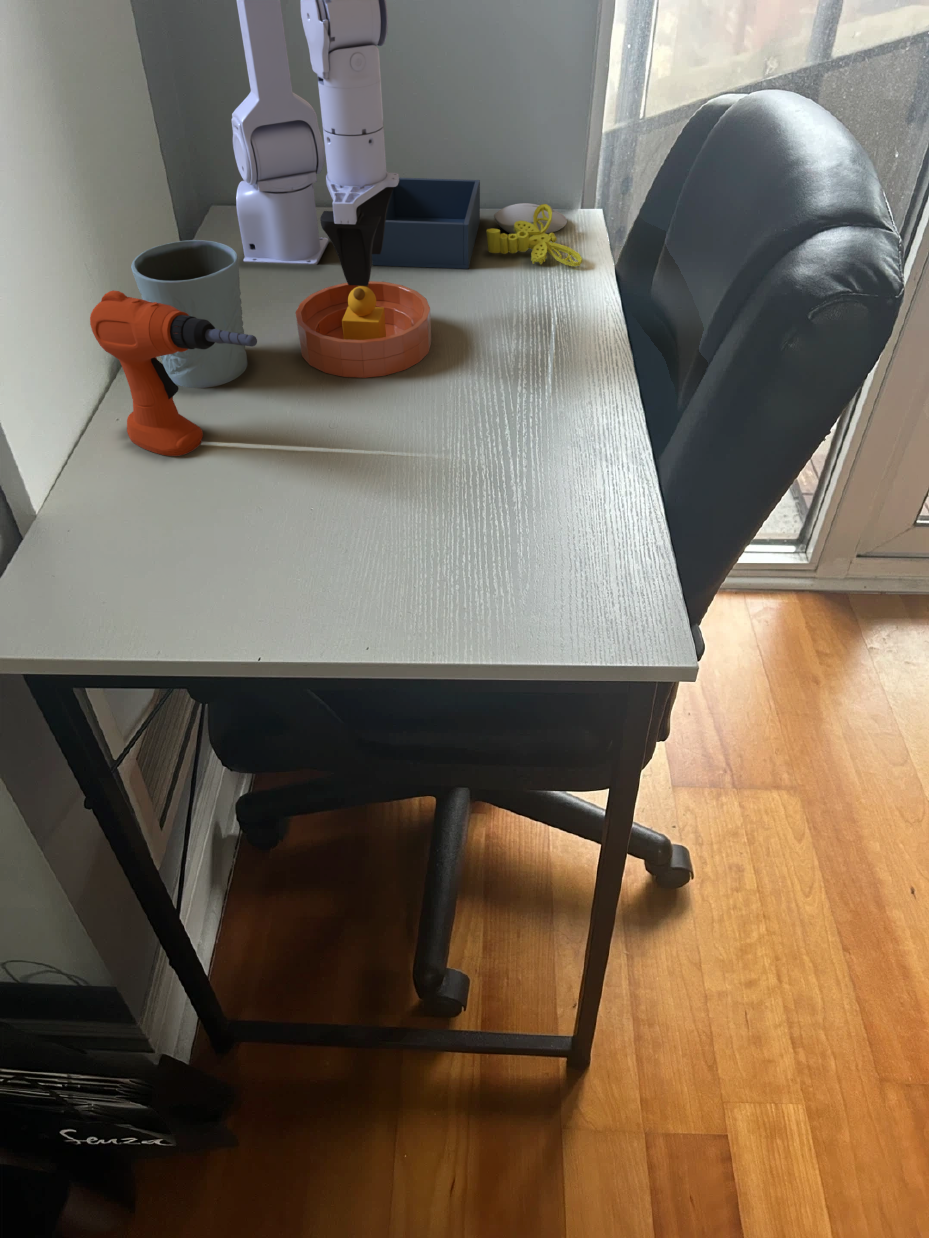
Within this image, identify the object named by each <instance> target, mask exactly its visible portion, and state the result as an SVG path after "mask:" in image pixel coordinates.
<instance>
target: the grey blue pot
mask: <svg viewBox="0 0 929 1238" xmlns="http://www.w3.org/2000/svg"><path fill="white" fill-rule="evenodd" d="M130 266H131V272H132V274H133V277H134V281H135V283H136V286H137V288H138V292H139V293H140V295H141V299H142V300H146V301H149V302H152V303H153V302H157V303H161V304H165V305H170V306H172V307H174V308H176V309H178V310H179V311H181V312H185V313H187V314H188V315H189V316H193V317H196V318H197V319H205V320H208V321H209V322H210V323H211V324H212V325H213V326H214V327H215V329H218V330H222V331H228V332H231V333H232V332H233V333H239V334H245V328H244V327H243V326H244V321H243V308H242V299H241V295H242V294H241V286H240V285H241V284H240V283H241V282H240V281H241V280H240V267H239V256H238V254H237V252H236V250H234V248H232V246H229V245H227V244H224V243H221V242H217V241H212V240H202V239H200V240H199V239H190V240H189V239H188V240H179V241H172V242H168V243H164V244H160V245H156V246H153V247H151V248H148V249H146V250H144V251H143V252H140V254H138V255H137V256H135V258H134V259H133V260H132V263H131V265H130ZM245 348H246V346H244V345H235V344H227V343H222V344H219V343H216V342H215V344H214V345H212V346H211V347H209V348H208V349H197V348H195V349H188V350H186V351H184V352H176V353H173V354H170V355H163V356H160V359H161V363H162V364H163V366H164V368H165V370H166V372H167V374H168V375H169V377H170V378H171V380H172V381H173V382H174V383H175V384H176V385H177V386H180V387H185V388H191V389H204V388H212V387H219V386H221V385H224V384H228V383H229V382H232V381H234V380H235V379H237V378H239V377H240V376H241V375H243V374H244V373H245V371H246V370H247V368H248V356H247V351H246V349H245Z"/></svg>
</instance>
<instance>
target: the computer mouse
mask: <svg viewBox="0 0 929 1238" xmlns="http://www.w3.org/2000/svg"><path fill="white" fill-rule="evenodd" d="M540 205H541V204H535V203H527V202H526V203H525V202H524V203H523V202H521V203H515V204H510V205H507V206H505V207H503V208H501V209H499V210H498V211H496V212H495V213H494V214H493V219H494V220H495V222H496V223H497V225H498V226H499V227H500V228H501V229H502V230H504V232H507V233H509V234H512V233H513V234H516V231H514V224H515V222H516V221H527V222H529V223H531V224H533V215H534V212H535V210H536V208H537V207H538V206H540ZM550 208H551V210H552V221H551V223H550V226H549V228H548V229H547V230H546V232H545V233H546V234H550V233H555V232H558V231H559V230H562V229H563V228H564V227H565V226H567V224H568V219H567V217H566V215H564V214H563V213H561V212H559V211H557V210H555V209H553V207H552V206H550ZM544 214H545V216H546V217H547V218H549V216H548V212H547V211H545V210H544ZM537 218H543V216H542V211H541V212H540V213H539V214H538V216H537ZM539 221H540V220H539ZM540 222H542V224H543V226H544V227H545V226H546V224H547V222H548V221H545V220H544V221H543V220H542V221H540ZM536 224H537V226H538V228H539V230H541V225H540V224H538V222H537V223H536Z"/></svg>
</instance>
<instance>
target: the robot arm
mask: <svg viewBox="0 0 929 1238" xmlns="http://www.w3.org/2000/svg"><path fill="white" fill-rule="evenodd" d="M299 3H300V17H301V22H302V28H303V31H304V35H305V38H306V42H307V47H308V51H309V58H310V64H311V69H312V71H313V73H315V74H316V76H317V85H318V94H319V96H318V97H319V106H320V115H321V124H322V133H321V131H320V128H319V127H320V126H319V121H318V116H317V115H318V114H317V113H316V111H315V109H314V107H313V106H312V105H311V104H310V102H308V101H307V100H306V99H304V98H303V97H301V96H300V95H298V94H297V93H295V92H294V91H293V85H292V78H291V71H290V63H289V56H288V48H287V41H286V40H287V39H286V33H285V26H284V18H283V12H282V5H281V0H236V6H237V12H238V19H239V25H240V32H241V38H242V43H243V44H242V45H243V50H244V51H243V52H244V57H245V62H246V63H245V64H246V69H247V77H248V81H249V87H250V92H249V94H247V96H246V97H245V98H244V99H243V101H242V102H241V103H240V104H239V105H238V106H237V107H236V108H235V109H234V111H233V112H232V113H231V119H230V120H231V121H230V122H231V127H232V128H231V129H232V147H233V153H234V158H235V162H236V167H237V169H238V172H239V174H240V176H241V178H242V180H241V181H240V182H239V183H238V186H237V188H236V195H235V196H236V197H235V198H236V199H235V201H236V203H235V204H236V214H237V221H238V226H239V227H238V228H239V231H240V232H239V233H240V239H241V243H242V248H243V254H244V258H243V259H242V261H243V262H244V263H264V264H292V265H313V266H315V265H318V264H319V262H320V260H321V258H322V256H323V254H324V253H325V250H326V248H327V247H328V244H329V243H332V246H333V248H334V250H335V253H336V254H337V258H338V261H339V263H340V267H341V269H342V273H343V275H344V278H345V280H346V283H348V285H356V286H368V283H369V281H371V273H372V254H381V251H382V246H383V240H384V230H385V221H386V214H387V209H388V204H389V200H390V197H391V194H392V191H393V189H394V187H396V186H397V185H398V183H399V178H400V174H399V172H389V171H388V170H387V158H386V156H387V155H386V144H385V143H386V142H385V128H384V127H385V125H384V110H383V95H382V79H381V78H382V76H381V64H380V49H379V48H378V47H382V46H384V45H385V44H386V41H387V37H388V32H389V11H388V3H387V0H300V1H299ZM322 134H323V137H322ZM325 162H326V171H327V173H326V175H325V183H326V187H327V189H328V192H329V194H330V197H331V199H332V203H331V205H332V210H323V211H322V213H321V215H320V217H319V220H320V226H321V229H322V230H323V231H324V233H325V234H326V235H327V237H320V232H319V224H318V223H319V222H318V215H317V206H316V198H315V190H314V184H315V183H317V182H318V176H317V175H319V174H321V173H322V171H323V169H324V166H325Z"/></svg>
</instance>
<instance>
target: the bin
mask: <svg viewBox="0 0 929 1238" xmlns="http://www.w3.org/2000/svg"><path fill="white" fill-rule="evenodd" d="M480 223H481V180H480V179H462V178H461V179H460V178H459V179H458V178H427V177H426V178H425V177H424V178H423V177H422V178H421V177H399V183H398V185H397V186H396V187H394V189H393V191H392V194H391V197H390V200H389V204H388V209H387V214H386V221H385V230H384V240H383V246H382V251H381V254H372V260H371V264H372V266H381V267H383V266H384V267H408V268H409V267H410V268H435V269H461V270H462V269H463V270H469V268H470V264H471V259H472V256H473V251H474V247H475V243H476V239H477V235H478V231H479V227H480Z"/></svg>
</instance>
